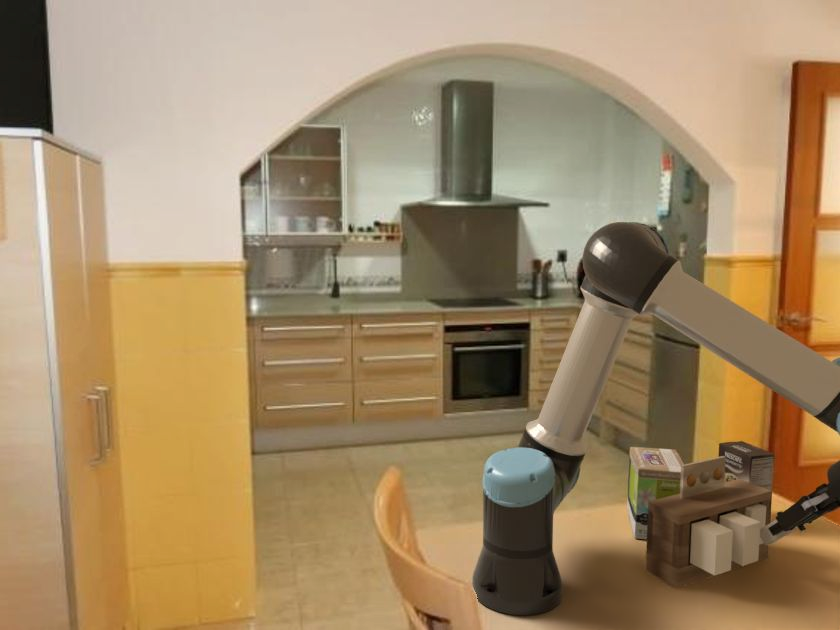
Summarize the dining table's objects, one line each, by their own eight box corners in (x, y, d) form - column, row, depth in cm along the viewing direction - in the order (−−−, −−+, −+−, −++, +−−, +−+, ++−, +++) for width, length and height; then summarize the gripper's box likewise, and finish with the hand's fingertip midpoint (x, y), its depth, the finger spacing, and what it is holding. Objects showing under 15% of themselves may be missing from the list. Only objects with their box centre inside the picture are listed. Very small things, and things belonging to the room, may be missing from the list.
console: (645, 570, 121) (649, 469, 119) (735, 542, 132) (740, 448, 130) (676, 588, 115) (681, 481, 112) (768, 557, 126) (774, 459, 123)
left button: (689, 562, 116) (691, 523, 115) (706, 557, 117) (707, 519, 117) (714, 575, 111) (716, 535, 110) (730, 570, 113) (732, 530, 112)
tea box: (687, 544, 131) (690, 471, 130) (633, 539, 133) (636, 468, 132) (673, 513, 146) (676, 447, 144) (625, 509, 148) (628, 444, 146)
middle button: (717, 553, 119) (719, 515, 118) (733, 548, 121) (735, 511, 120) (742, 565, 114) (744, 526, 114) (758, 560, 116) (760, 522, 115)
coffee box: (713, 515, 145) (717, 442, 143) (737, 511, 147) (741, 439, 145) (745, 532, 136) (750, 455, 134) (771, 528, 138) (775, 452, 136)
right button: (725, 536, 125) (727, 500, 125) (740, 532, 127) (742, 497, 126) (749, 547, 121) (751, 510, 120) (764, 543, 123) (766, 506, 122)
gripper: (857, 506, 99) (752, 566, 116) (907, 489, 105) (800, 549, 122) (823, 461, 103) (726, 525, 120) (873, 448, 109) (774, 511, 126)
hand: (764, 537), depth 121 cm, fingers closed
